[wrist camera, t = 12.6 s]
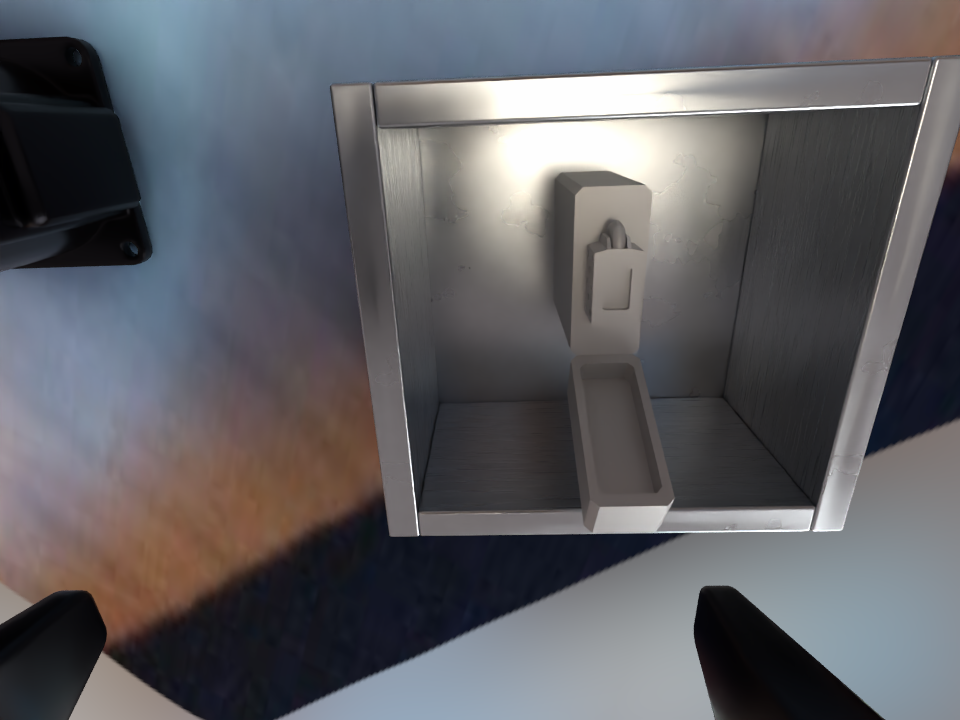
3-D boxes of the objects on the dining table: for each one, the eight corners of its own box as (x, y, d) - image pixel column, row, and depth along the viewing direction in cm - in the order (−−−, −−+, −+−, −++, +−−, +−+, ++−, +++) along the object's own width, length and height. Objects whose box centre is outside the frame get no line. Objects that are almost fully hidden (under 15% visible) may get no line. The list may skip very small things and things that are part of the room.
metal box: (421, 411, 20) (389, 537, 14) (392, 100, 16) (328, 83, 10) (733, 404, 20) (843, 532, 14) (788, 83, 16) (983, 53, 9)
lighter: (555, 172, 16) (607, 211, 9) (613, 170, 16) (716, 207, 9) (552, 385, 19) (588, 551, 11) (601, 384, 19) (670, 551, 11)
